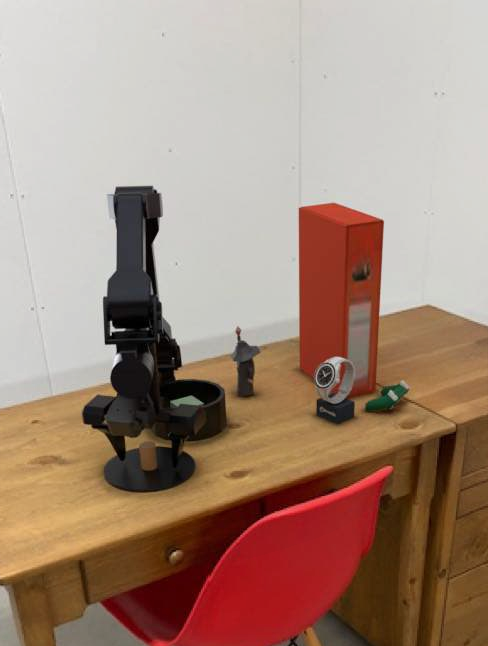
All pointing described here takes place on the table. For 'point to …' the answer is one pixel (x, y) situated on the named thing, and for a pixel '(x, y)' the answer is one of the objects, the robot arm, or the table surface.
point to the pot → (212, 406)
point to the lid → (148, 469)
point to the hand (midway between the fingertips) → (149, 463)
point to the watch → (334, 404)
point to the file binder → (340, 291)
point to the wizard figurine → (244, 365)
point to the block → (186, 402)
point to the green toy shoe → (388, 397)
